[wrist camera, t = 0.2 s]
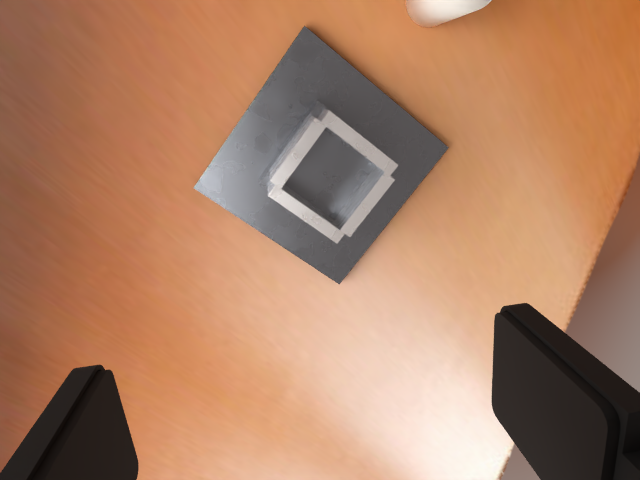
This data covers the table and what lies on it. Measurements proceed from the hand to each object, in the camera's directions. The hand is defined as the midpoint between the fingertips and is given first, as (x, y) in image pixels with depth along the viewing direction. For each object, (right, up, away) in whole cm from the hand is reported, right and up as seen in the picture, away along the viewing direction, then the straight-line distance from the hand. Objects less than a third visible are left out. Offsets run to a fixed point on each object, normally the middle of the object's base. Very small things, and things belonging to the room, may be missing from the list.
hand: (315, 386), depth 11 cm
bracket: (0, +10, +29) cm, 31 cm away
